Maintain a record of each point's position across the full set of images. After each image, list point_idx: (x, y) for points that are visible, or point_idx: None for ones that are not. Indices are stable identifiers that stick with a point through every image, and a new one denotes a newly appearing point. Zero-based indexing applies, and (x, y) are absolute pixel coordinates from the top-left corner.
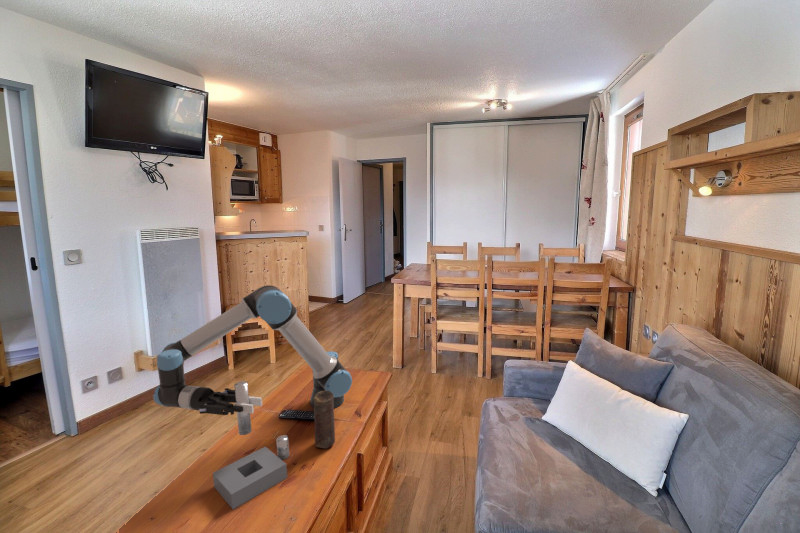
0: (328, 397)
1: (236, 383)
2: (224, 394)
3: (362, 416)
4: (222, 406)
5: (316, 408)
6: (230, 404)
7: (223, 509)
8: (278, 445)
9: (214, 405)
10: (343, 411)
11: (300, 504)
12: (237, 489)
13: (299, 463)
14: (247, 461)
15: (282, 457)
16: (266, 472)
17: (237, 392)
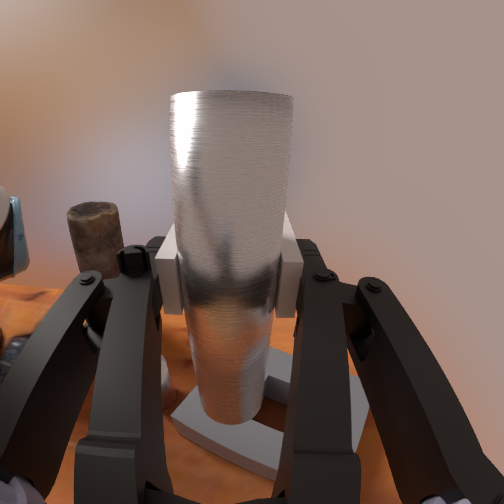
0: (100, 205)
1: (231, 91)
2: (129, 450)
3: (46, 289)
4: (383, 314)
5: (113, 237)
6: (327, 276)
7: (370, 420)
8: (167, 376)
9: (423, 391)
10: (18, 317)
11: (295, 311)
12: (357, 382)
13: (186, 353)
14: (255, 430)
15: (174, 389)
16: (282, 358)
17: (289, 154)
